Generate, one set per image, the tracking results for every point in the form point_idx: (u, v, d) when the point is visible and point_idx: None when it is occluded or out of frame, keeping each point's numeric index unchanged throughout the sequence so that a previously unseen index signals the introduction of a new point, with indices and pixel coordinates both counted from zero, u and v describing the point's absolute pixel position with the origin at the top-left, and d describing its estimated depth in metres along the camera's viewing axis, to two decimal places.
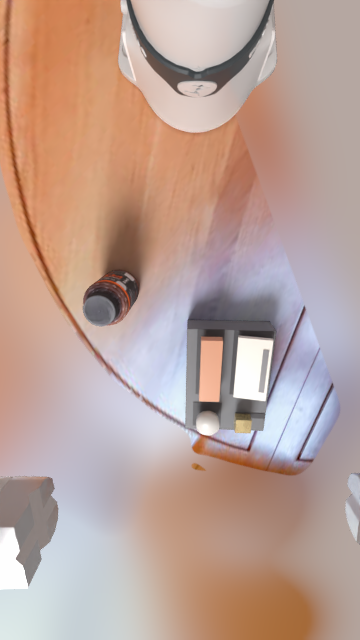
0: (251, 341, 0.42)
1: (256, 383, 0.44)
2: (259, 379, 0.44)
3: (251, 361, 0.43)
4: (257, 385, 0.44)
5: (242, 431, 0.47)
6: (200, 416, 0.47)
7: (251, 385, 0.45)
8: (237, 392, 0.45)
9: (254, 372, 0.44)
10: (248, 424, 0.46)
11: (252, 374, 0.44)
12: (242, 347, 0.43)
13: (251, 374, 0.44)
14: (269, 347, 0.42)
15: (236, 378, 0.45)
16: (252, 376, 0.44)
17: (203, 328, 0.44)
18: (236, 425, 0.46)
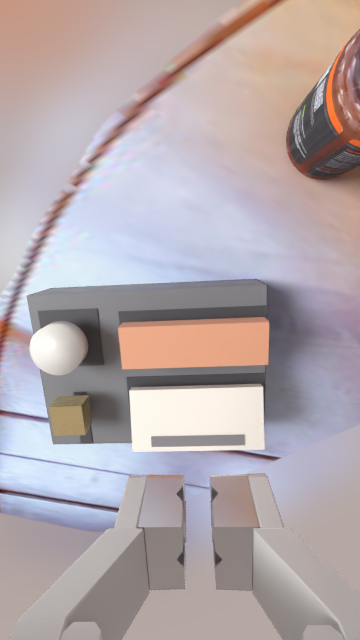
0: (258, 412, 0.22)
1: (169, 430, 0.23)
2: (179, 435, 0.23)
3: (215, 416, 0.22)
4: (165, 433, 0.23)
5: (55, 420, 0.22)
6: (75, 330, 0.21)
7: (162, 421, 0.23)
8: (141, 396, 0.22)
9: (193, 424, 0.22)
10: (74, 430, 0.22)
11: (187, 421, 0.22)
12: (243, 396, 0.22)
13: (187, 419, 0.22)
14: (249, 444, 0.22)
15: (173, 392, 0.22)
16: (183, 421, 0.22)
17: (265, 316, 0.22)
18: (67, 407, 0.22)
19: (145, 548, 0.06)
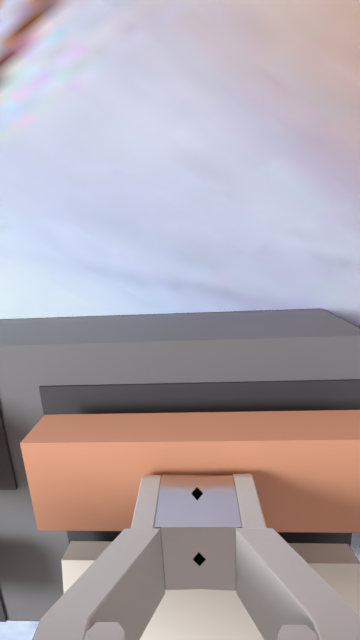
0: None
1: None
2: None
3: (251, 621, 0.10)
4: None
5: None
6: None
7: None
8: None
9: (201, 638, 0.10)
10: None
11: (189, 629, 0.10)
12: None
13: (188, 625, 0.10)
14: None
15: None
16: (179, 629, 0.10)
17: None
18: None
19: (161, 548, 0.06)
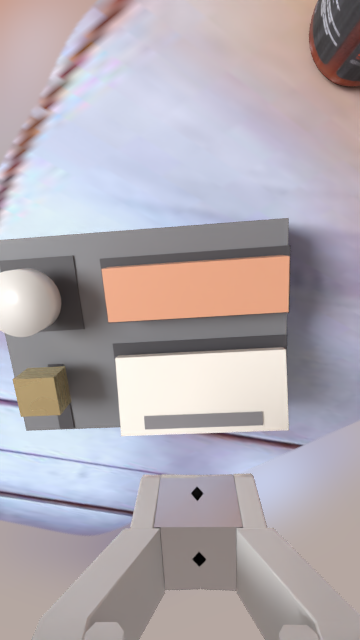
0: (280, 382, 0.17)
1: (166, 408, 0.18)
2: (179, 413, 0.18)
3: (225, 388, 0.18)
4: (161, 412, 0.18)
5: (21, 397, 0.17)
6: (42, 278, 0.16)
7: (158, 397, 0.18)
8: (131, 365, 0.18)
9: (197, 400, 0.18)
10: (46, 409, 0.17)
11: (190, 395, 0.18)
12: (260, 362, 0.17)
13: (189, 393, 0.18)
14: (269, 424, 0.18)
15: (171, 359, 0.18)
16: (184, 396, 0.18)
17: None
18: (36, 380, 0.17)
19: (161, 548, 0.06)
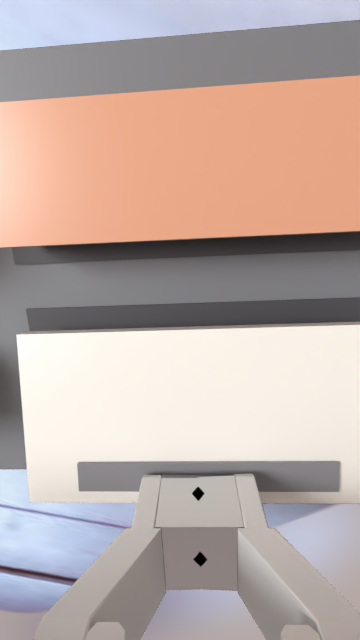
0: None
1: (127, 447, 0.08)
2: (155, 460, 0.08)
3: (257, 408, 0.08)
4: (116, 454, 0.08)
5: None
6: None
7: (109, 423, 0.08)
8: (51, 351, 0.08)
9: (193, 431, 0.08)
10: None
11: (178, 421, 0.08)
12: (338, 351, 0.08)
13: (177, 416, 0.08)
14: (353, 488, 0.08)
15: (138, 339, 0.08)
16: (166, 422, 0.08)
17: None
18: None
19: (162, 548, 0.06)
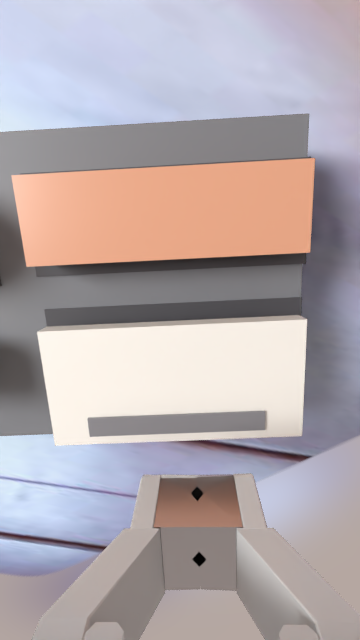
0: (295, 369, 0.11)
1: (122, 406, 0.12)
2: (141, 414, 0.12)
3: (211, 378, 0.11)
4: (114, 412, 0.12)
5: None
6: None
7: (108, 391, 0.12)
8: (63, 343, 0.11)
9: (167, 395, 0.12)
10: None
11: (157, 388, 0.12)
12: (266, 339, 0.11)
13: (156, 385, 0.12)
14: (275, 427, 0.12)
15: (126, 333, 0.11)
16: (148, 389, 0.12)
17: None
18: None
19: (161, 548, 0.06)
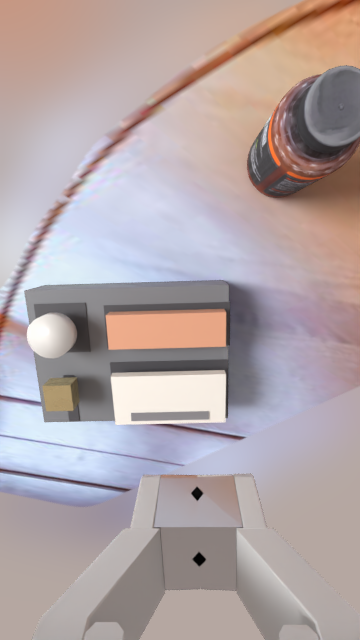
0: (221, 394, 0.26)
1: (146, 408, 0.27)
2: (154, 412, 0.27)
3: (185, 397, 0.26)
4: (142, 410, 0.27)
5: (47, 398, 0.26)
6: (66, 320, 0.25)
7: (140, 401, 0.27)
8: (121, 381, 0.26)
9: (166, 403, 0.27)
10: (64, 406, 0.26)
11: (161, 401, 0.26)
12: (208, 381, 0.26)
13: (161, 399, 0.26)
14: (213, 418, 0.27)
15: (149, 378, 0.26)
16: (157, 401, 0.26)
17: (228, 311, 0.27)
18: (58, 386, 0.25)
19: (161, 548, 0.06)
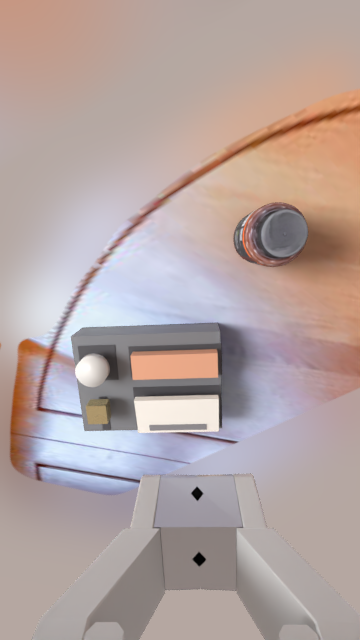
0: (215, 412, 0.36)
1: (160, 422, 0.36)
2: (166, 424, 0.36)
3: (189, 414, 0.36)
4: (157, 423, 0.36)
5: (89, 414, 0.35)
6: (102, 359, 0.34)
7: (156, 417, 0.36)
8: (142, 404, 0.35)
9: (175, 419, 0.36)
10: (101, 421, 0.36)
11: (171, 417, 0.36)
12: (206, 404, 0.35)
13: (171, 416, 0.36)
14: (210, 428, 0.36)
15: (162, 401, 0.35)
16: (168, 417, 0.36)
17: (220, 349, 0.36)
18: (97, 406, 0.35)
19: (161, 548, 0.06)
